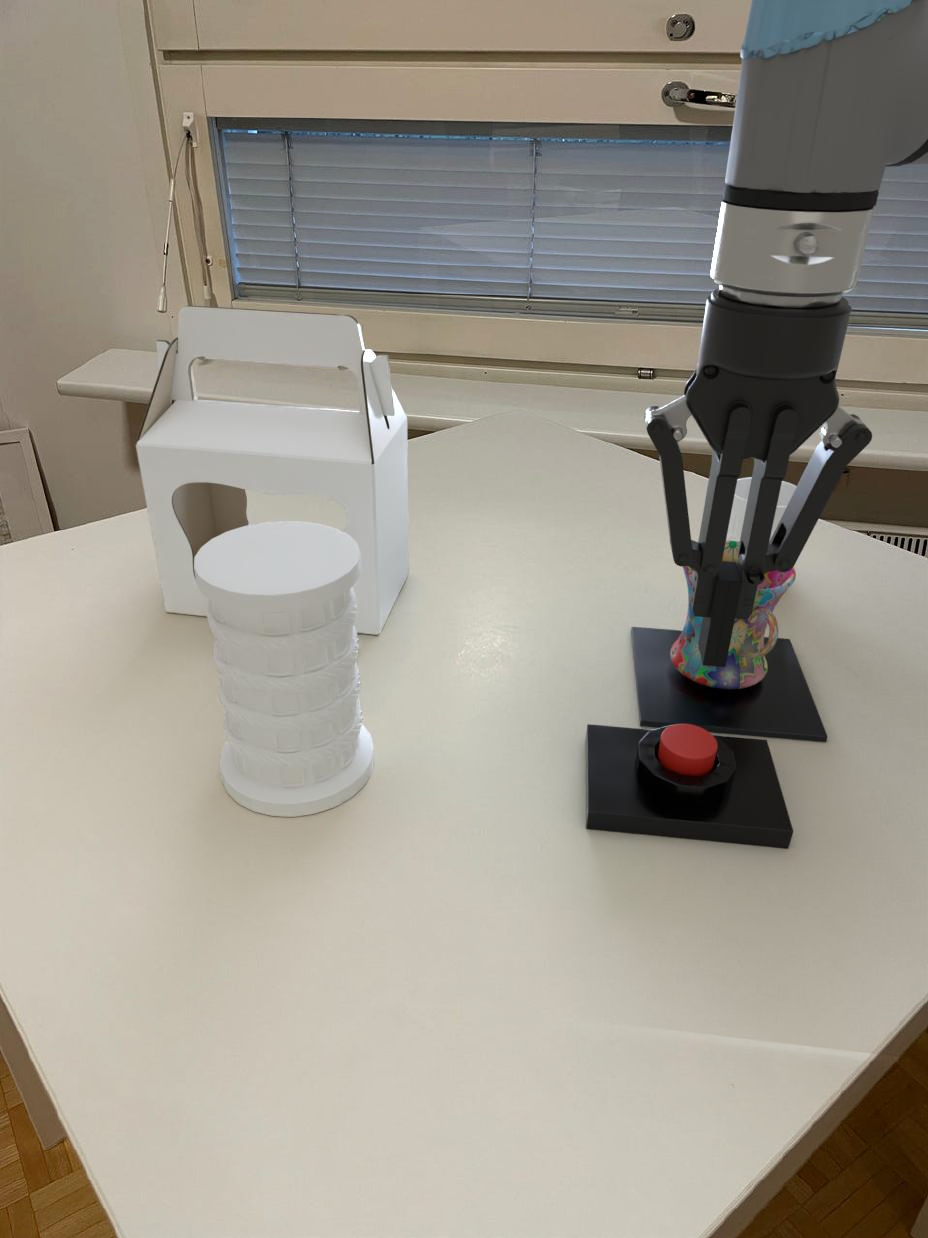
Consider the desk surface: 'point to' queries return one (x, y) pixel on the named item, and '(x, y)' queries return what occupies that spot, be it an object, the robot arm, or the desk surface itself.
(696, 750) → the button
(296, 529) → the decorative container
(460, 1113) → the desk surface
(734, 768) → the control block
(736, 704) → the plate
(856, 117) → the robot arm
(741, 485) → the white cup
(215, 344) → the gable box
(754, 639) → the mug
